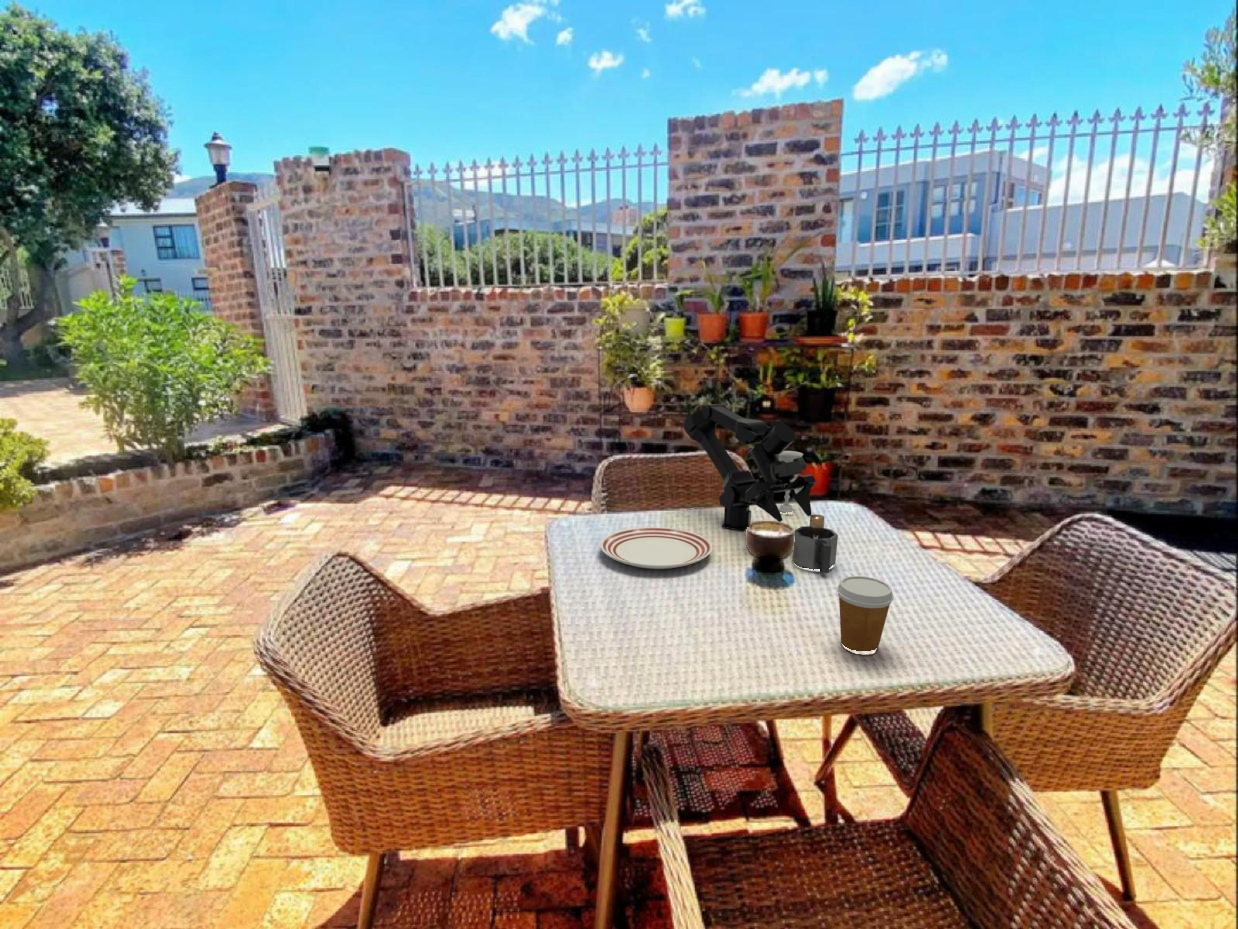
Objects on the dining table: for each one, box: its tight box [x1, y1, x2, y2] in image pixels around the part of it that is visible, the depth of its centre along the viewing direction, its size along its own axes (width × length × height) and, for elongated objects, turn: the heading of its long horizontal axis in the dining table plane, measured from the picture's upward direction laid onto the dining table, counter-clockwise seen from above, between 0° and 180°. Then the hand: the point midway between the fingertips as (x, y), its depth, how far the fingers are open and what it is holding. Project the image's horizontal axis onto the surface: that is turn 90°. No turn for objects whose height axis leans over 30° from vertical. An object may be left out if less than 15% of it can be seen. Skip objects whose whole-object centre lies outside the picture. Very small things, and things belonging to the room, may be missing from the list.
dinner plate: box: [599, 526, 713, 570], centre depth 159 cm, size 27×27×3 cm
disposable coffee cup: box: [836, 575, 895, 651], centre depth 116 cm, size 10×10×12 cm
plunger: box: [808, 513, 826, 539], centre depth 152 cm, size 7×7×11 cm
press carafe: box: [791, 525, 839, 574], centre depth 151 cm, size 12×9×8 cm
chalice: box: [777, 450, 804, 513], centre depth 189 cm, size 7×7×18 cm
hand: (795, 518), depth 157 cm, fingers open, 9 cm apart
